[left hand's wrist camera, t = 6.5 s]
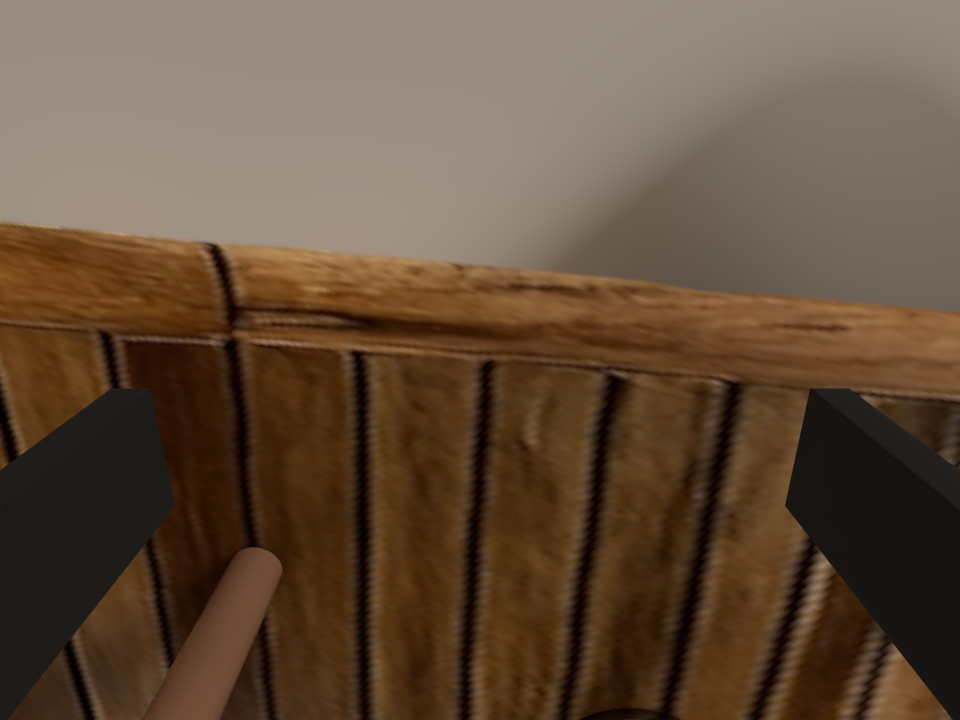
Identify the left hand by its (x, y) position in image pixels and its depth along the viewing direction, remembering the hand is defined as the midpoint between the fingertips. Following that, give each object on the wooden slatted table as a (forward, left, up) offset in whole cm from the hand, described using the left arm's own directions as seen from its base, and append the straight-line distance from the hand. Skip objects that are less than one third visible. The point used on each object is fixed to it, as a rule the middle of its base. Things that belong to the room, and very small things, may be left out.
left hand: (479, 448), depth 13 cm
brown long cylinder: (-27, +18, -28) cm, 42 cm away
